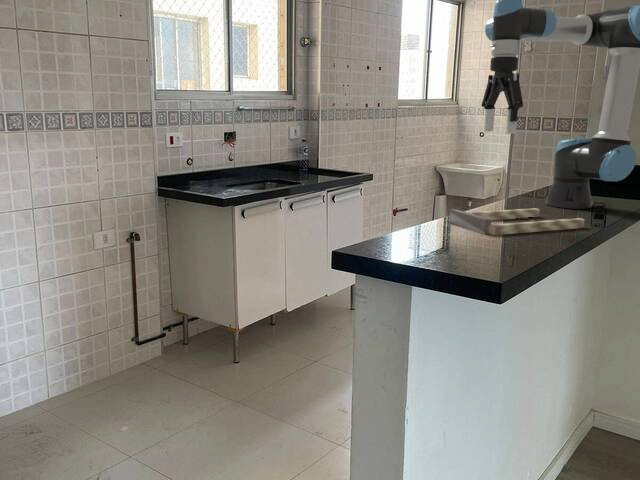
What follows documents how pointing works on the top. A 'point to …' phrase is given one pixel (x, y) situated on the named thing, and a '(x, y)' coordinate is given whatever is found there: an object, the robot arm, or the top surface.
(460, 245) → the top surface
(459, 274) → the top surface
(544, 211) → the top surface
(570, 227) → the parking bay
